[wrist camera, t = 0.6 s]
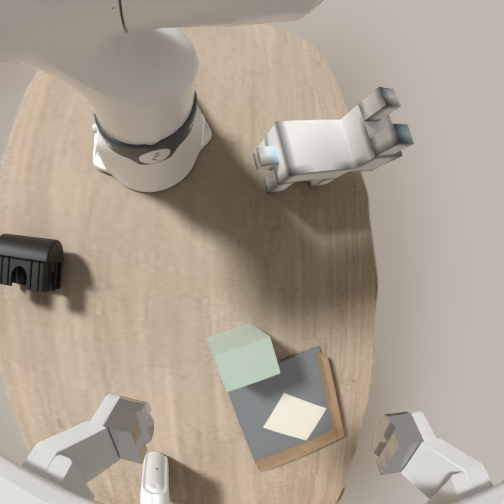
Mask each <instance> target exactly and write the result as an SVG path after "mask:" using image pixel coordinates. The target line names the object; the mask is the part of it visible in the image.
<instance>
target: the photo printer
mask: <svg viewBox="0 0 504 504" xmlns="http://www.w3.org/2000/svg"><path fill="white" fill-rule="evenodd" d="M169 497H170V496H169V466H168V459H167V456H164V454H162V453H159V452H150V453H149V454H146V456H145V459H144V465H143V474H142V483H141V504H170V499H169Z"/></svg>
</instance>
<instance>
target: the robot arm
mask: <svg viewBox="0 0 504 504" xmlns="http://www.w3.org/2000/svg"><path fill="white" fill-rule="evenodd" d="M322 1H323V0H0V62H8V63H14V64H20V65H24V66H28V67H31V68H34V69H37V70H39V71H42V72H44V73H47V74H49V75H51V76H53V77H55V78H57V79H59V80H61V81H63V82H65V83H67V84H68V85H70V86H72V87H73V88H75V89H76V90H78V91H79V92H80V93H82V94H83V95H84V97H85V98H86V99H87V101H88V102H89V104H90V106H91V107H92V113H93V117H95V121H96V124H93V133H94V134H95V140H94V152H93V164H94V166H95V168H96V169H98V170H100V171H103V172H106V173H110V174H111V175H113V176H114V177H115V178H116V179H117V180H118V181H119V182H120V183H122V184H123V185H124V186H126V187H128V188H130V189H133V190H136V191H140V192H156V191H161V190H165V189H167V188H170V187H172V186H174V185H175V184H177V183H179V182H180V181H181V180H182V179H184V178H185V177H186V176H187V174H188V173H189V172H190V171H191V169H192V168H193V166H194V164H195V162H196V159H197V157H198V154H199V152H200V151H201V149H203V148H204V147H205V146H206V145H207V144H208V143H209V141H210V140H211V138H212V132H211V130H210V128H209V126H208V124H207V122H206V120H205V117H204V115H203V114H202V112H201V110H200V108H199V107H198V105H197V96H196V91H195V87H196V80H197V73H198V66H199V62H198V56H197V52H196V50H195V48H194V46H193V44H192V43H191V41H190V40H189V39H188V37H187V36H186V35H185V34H184V33H183V32H182V31H181V30H180V29H179V28H178V27H232V26H241V25H252V24H264V23H274V22H287V21H296V20H299V19H301V18H303V17H304V16H306V15H307V14H308V13H310V12H311V11H312V10H314V9H315V8H316V7H317V6H318V5H319V4H320V3H321V2H322ZM150 411H151V408H150V404H149V403H147V402H143V401H139V400H135V399H131V398H127V397H123V396H119V395H115V394H112V393H109V394H108V395H107V396H106V397H105V399H104V400H103V402H102V403H101V405H100V407H99V408H98V410H97V411H96V413H95V415H94V416H93V418H92V419H91V421H90V422H88V421H85V422H83V423H81V424H79V425H77V426H75V427H72V428H70V429H68V430H66V431H64V432H61V433H59V434H57V435H55V436H52V437H50V438H48V439H45V440H43V441H41V442H38V443H37V444H36V446H35V447H34V448H33V450H32V451H31V453H30V454H29V456H28V457H27V459H26V460H25V462H24V463H23V465H22V466H21V465H20V464H18V463H16V462H14V461H13V460H11V459H10V458H8V457H6V456H5V455H3V454H2V453H0V504H103V503H100V502H98V501H95V500H93V498H94V494H93V492H92V491H91V490H90V488H89V487H88V485H87V484H86V483H87V482H88V481H90V480H91V479H93V478H94V477H96V476H97V475H99V474H100V473H101V472H103V471H104V470H106V469H107V468H109V467H110V466H111V465H113V464H114V463H116V462H117V461H118V460H120V458H121V459H124V460H128V461H132V462H137V463H141V464H142V462H143V460H144V457H145V454H146V452H147V448H146V445H145V444H147V443H149V442H150V441H151V439H152V436H153V431H154V421H153V418H152V417H151V416H150V415H149V414H150ZM379 422H380V425H381V426H380V427H379V428H377V429H376V430H375V432H374V434H373V439H372V447H373V451H374V453H375V454H377V455H378V456H379V458H378V460H377V464H378V468H379V471H380V474H381V475H382V474H390V473H396V472H401V473H402V474H403V475H404V476H405V477H406V478H407V479H408V480H409V481H410V482H411V483H413V484H414V485H415V486H416V487H417V488H418V489H419V490H420V491H421V492H422V493H424V494H425V495H426V496H427V497H428V498H429V499H430V500H429V501H428V502H427V503H426V504H504V481H503V482H501V483H499V484H497V485H495V486H493V484H492V483H491V480H490V478H489V476H488V475H487V473H486V471H485V469H484V467H483V465H482V464H481V463H479V462H478V461H476V460H475V459H473V458H471V457H469V456H468V455H466V454H464V453H463V452H461V451H459V450H458V449H456V448H454V447H453V446H451V445H449V444H448V443H446V442H445V441H443V440H441V439H436V437H435V436H434V433H433V432H432V429H431V427H430V425H429V423H428V422H427V420H426V418H425V416H424V414H423V412H422V411H421V410H417V411H410V412H402V413H394V414H386V415H383V416H382V417H381V419H380V421H379Z"/></svg>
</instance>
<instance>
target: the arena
mask: <svg viewBox="0 0 504 504" xmlns="http://www.w3.org/2000/svg"><path fill="white" fill-rule="evenodd" d="M278 366H279V369H280V374H277V375H275V376H272V377H269V378H266V379H264V380H261V381H258V382H255V383H253V384H250V385H247V386H244V387H241V388H238V389H235V390H232V391H229V392H228V393H229V396H230V398H231V401H232V404H233V407H234V409H235V412H236V415H237V417H238V420H239V423H240V425H241V428H242V430H243V433H244V435H245V438H246V441H247V443H248V446H249V448H250V451H251V453H252V456H253V458H254V460H255V463H256V465H257V467H258V469H259V471H260V473H261V472H263V471H266V470H269V469H272V468H274V467H277V466H280V465H282V464H285V463H287V462H290V461H292V460H295V459H297V458H299V457H302V456H304V455H306V454H309V453H311V452H313V451H315V450H317V449H320V448H322V447H324V446H326V445H328V444H330V443H332V442H334V441H336V440H338V439H340V438H342V437H344V431H343V426H342V421H341V416H340V411H339V406H338V401H337V396H336V392H335V387H334V382H333V378H332V373H331V369H330V364H329V360H328V356H327V355H325V354H323V353H321V351H320V347H319V346H317V347H315V348H312V349H310V350H307V351H305V352H302V353H300V354H297V355H295V356H292V357H290V358H287V359H285V360H282V361H279V362H278Z"/></svg>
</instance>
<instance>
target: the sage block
mask: <svg viewBox="0 0 504 504" xmlns="http://www.w3.org/2000/svg"><path fill="white" fill-rule="evenodd" d="M206 339H207V342H208V345H209V348H210V351H211V354H212V357H213V360H214V363H215V366H216V368H217V371H218V373H219V376H220V378H221V380H222V383H223V385H224V387H225V390H226V392H229V391H232V390H235V389H238V388H241V387H244V386H247V385H250V384H253V383H255V382H258V381H261V380H264V379H266V378H269V377H272V376H275V375H277V374H280V369H279V366H278V362H277V359H276V355H275V352H274V348H273V345H272V341H271V338H270V336H268V335H267V334H265V333H264V332H263V331H261V330H260V329H258V328H257V327H256V326H254V325H253V324H251V323H249V324H246V325H243V326H240V327H237V328H234V329H231V330H228V331H224V332H221V333H218V334H215V335H211V336H208V337H206Z"/></svg>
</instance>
